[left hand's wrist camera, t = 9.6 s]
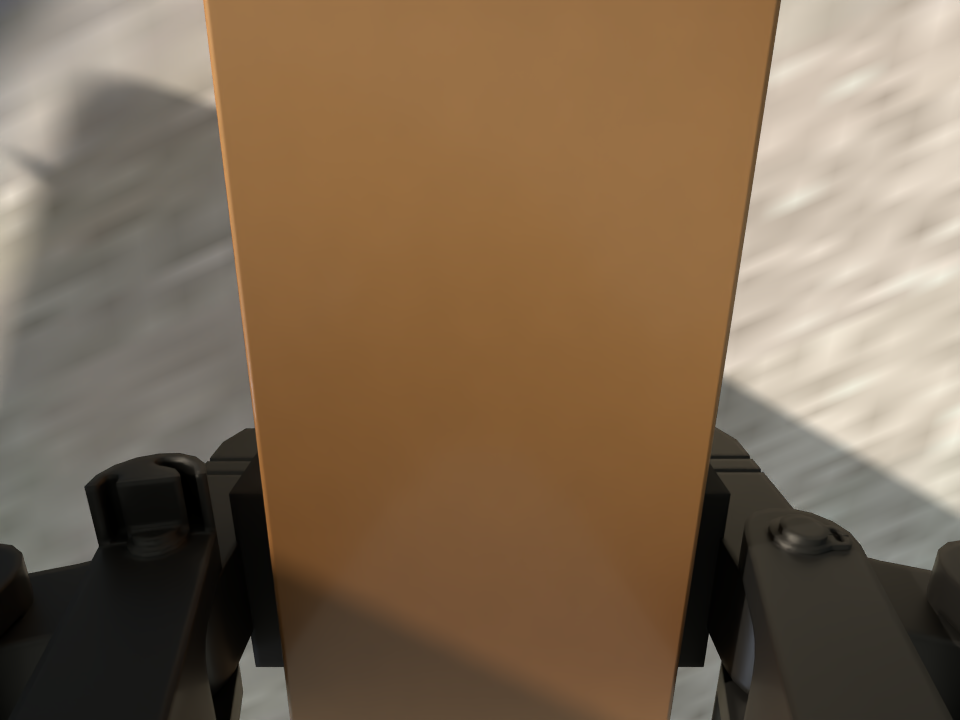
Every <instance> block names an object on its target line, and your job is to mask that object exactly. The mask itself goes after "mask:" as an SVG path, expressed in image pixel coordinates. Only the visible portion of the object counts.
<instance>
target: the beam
mask: <svg viewBox="0 0 960 720" xmlns="http://www.w3.org/2000/svg"><path fill="white" fill-rule="evenodd" d="M203 2H204V10H205V19H206V27H207V35H208V43H209V52H210V60H211V68H212V76H213V85H214V93H215V101H216V109H217V118H218V126H219V134H220V143H221V151H222V159H223V167H224V176H225V184H226V192H227V200H228V209H229V217H230V225H231V233H232V242H233V250H234V258H235V267H236V275H237V283H238V291H239V300H240V308H241V316H242V324H243V333H244V341H245V349H246V357H247V366H248V374H249V382H250V391H251V399H252V407H253V415H254V424H255V432H256V440H257V448H258V457H259V465H260V473H261V481H262V490H263V498H264V506H265V514H266V523H267V531H268V539H269V548H270V556H271V564H272V572H273V581H274V589H275V597H276V605H277V614H278V622H279V630H280V638H281V647H282V655H283V663H284V672H285V680H286V688H287V696H288V705H289V713H290V720H670V715H671V709H672V702H673V696H674V689H675V683H676V676H677V670H678V664H679V657H680V651H681V644H682V638H683V631H684V625H685V618H686V612H687V605H688V599H689V592H690V586H691V579H692V573H693V566H694V560H695V553H696V547H697V540H698V534H699V528H700V521H701V515H702V508H703V502H704V495H705V489H706V482H707V476H708V469H709V463H710V456H711V450H712V443H713V437H714V430H715V424H716V417H717V411H718V405H719V398H720V392H721V385H722V379H723V372H724V366H725V359H726V353H727V346H728V340H729V333H730V327H731V320H732V314H733V307H734V301H735V294H736V288H737V281H738V275H739V269H740V262H741V256H742V249H743V243H744V236H745V230H746V223H747V217H748V210H749V204H750V197H751V191H752V184H753V178H754V171H755V165H756V158H757V152H758V145H759V139H760V133H761V126H762V120H763V113H764V107H765V100H766V94H767V87H768V81H769V74H770V68H771V61H772V55H773V48H774V42H775V35H776V29H777V22H778V16H779V10H780V3H781V0H203Z"/></svg>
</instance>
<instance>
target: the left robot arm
mask: <svg viewBox="0 0 960 720" xmlns="http://www.w3.org/2000/svg"><path fill="white" fill-rule="evenodd" d="M85 491H86V495H87V499H88V503H89V507H90V511H91V516H92V520H93V524H94V528H95V532H96V536H97V540H98V544H99V548H98V549H97V551H96V553H95V555H94V557H93V559H92V561H88V562H84V563H80V564H75V565H70V566H65V567H60V568H55V569H50V570H44V571H39V572H34V573H29V574H28V572H27V568H26V565H25V562H24V558H23V555H22V553H21V552H20V551H19V550H18V549H16V548H15V547H14V546H13V545H7V544H0V720H239V718H240V711H241V703H242V696H243V687H242V680H241V673H240V667H239V661H240V659H241V656H242V654H243V652H244V650H245V647H246V645H247V643H248V641H249V639H250V636H251V639H252V645H253V651H254V658H255V664H256V667H284V663H283V655H282V647H281V638H280V630H279V622H278V614H277V605H276V597H275V589H274V581H273V572H272V564H271V556H270V548H269V539H268V531H267V523H266V514H265V506H264V498H263V490H262V481H261V473H260V465H259V457H258V448H257V440H256V432H255V428H246V429H244V430H243V431H241V432H239V433H238V434H236V435H234V436H233V437H231V438H229V439H228V440H226V441H224V442H223V443H222V444H221V445H220V447H219V448H218V449H217V450H216V451H215V453H214V454H213V455H212V456H211V458H210V461H207V463H206V464H205V463H204V462H202V461H201V460H200V459H198V458H197V457H195V456H191V455H186V454H181V453H163V454H154V455H149V456H143V457H138V458H134V459H131V460H128V461H125V462H122V463H120V464H117V465H114V466H112V467H110V468H109V469H107V470H105V471H103V472H101V473H99V474H98V475H96V476H95V477H94V478H93V479H92V480H91V481H90V482H89V483H88V484H87V485H86V486H85ZM709 634H710V636H711V638H712V641H713V643H714V645H715V647H716V650H717V652H718V654H719V656H720V658H721V667H720V673H719V679H718V685H717V691H716V697H715V703H714V709H713V715H712V720H960V541H953V542H948V543H946V544H945V545H944V546H943V547H941V548H940V549H939V550H938V553H937V556H936V560H935V563H934V566H933V570H932V571H931V570H926V569H921V568H915V567H910V566H905V565H900V564H895V563H889V562H884V561H879V560H875V559H871V558H868V557H867V556H866V554H865V552H864V550H863V548H862V546H861V545H860V544H859V543H858V541H857V540H856V539H855V538H854V537H853V536H852V534H851V533H850V532H848V531H847V530H845V529H844V528H842V527H840V526H839V525H837V524H836V523H834V522H833V521H830V520H828V519H825V518H823V517H820V516H818V515H815V514H813V513H809V512H805V511H800V510H795V509H793V508H792V507H791V505H790V504H789V503H788V502H787V500H786V499H785V498H784V497H783V496H782V494H781V493H780V492H779V491H778V489H777V488H776V487H775V486H774V485H773V483H772V482H771V481H770V480H769V479H768V477H767V476H766V475H765V474H764V472H761V469H760V468H759V466H758V465H757V464H756V463H755V462H754V460H753V459H750V455H749V454H748V453H747V452H746V451H745V449H744V448H743V447H742V446H741V444H740V443H739V442H738V441H737V440H736V439H734V438H733V437H731V436H729V435H728V434H726V433H724V432H723V431H721V430H719V429H718V428H716V427H715V430H714V437H713V443H712V450H711V456H710V463H709V469H708V476H707V482H706V489H705V495H704V502H703V508H702V515H701V521H700V528H699V534H698V540H697V547H696V553H695V560H694V566H693V573H692V579H691V586H690V592H689V599H688V605H687V612H686V618H685V625H684V631H683V638H682V644H681V651H680V657H679V664H678V667H704V661H705V655H706V649H707V642H708V636H709Z"/></svg>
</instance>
